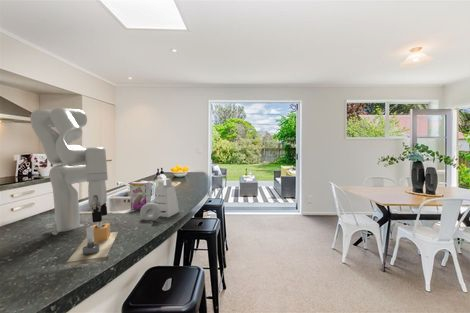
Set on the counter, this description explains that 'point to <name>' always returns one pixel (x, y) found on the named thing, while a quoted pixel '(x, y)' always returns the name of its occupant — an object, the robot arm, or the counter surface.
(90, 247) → the metal peg
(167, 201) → the grater
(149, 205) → the donut
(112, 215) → the counter surface
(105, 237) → the collar
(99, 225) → the stand rod
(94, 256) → the board
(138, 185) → the candy bar box
